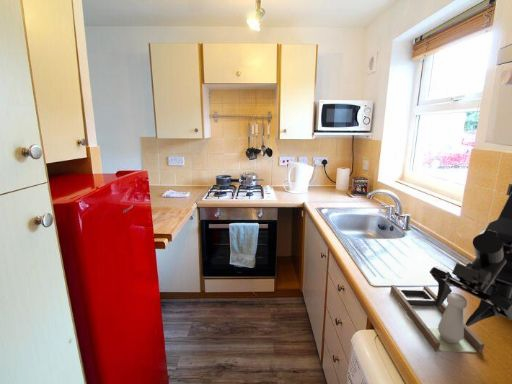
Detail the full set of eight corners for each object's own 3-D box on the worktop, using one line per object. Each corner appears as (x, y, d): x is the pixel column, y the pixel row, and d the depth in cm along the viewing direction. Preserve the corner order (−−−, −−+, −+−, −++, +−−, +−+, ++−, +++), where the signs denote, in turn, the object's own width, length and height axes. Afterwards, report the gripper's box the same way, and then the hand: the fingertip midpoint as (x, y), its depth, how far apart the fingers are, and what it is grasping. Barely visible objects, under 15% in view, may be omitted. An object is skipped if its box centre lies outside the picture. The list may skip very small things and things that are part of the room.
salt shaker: (451, 330, 78) (459, 289, 75) (467, 346, 73) (477, 302, 70) (431, 331, 78) (439, 290, 75) (446, 347, 72) (455, 303, 69)
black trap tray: (423, 294, 95) (424, 289, 95) (433, 306, 89) (434, 300, 89) (396, 294, 95) (397, 288, 95) (405, 305, 90) (406, 299, 89)
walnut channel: (425, 292, 96) (426, 285, 96) (482, 352, 71) (484, 344, 71) (390, 291, 97) (391, 285, 96) (434, 351, 72) (436, 342, 71)
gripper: (439, 239, 79) (406, 283, 77) (521, 271, 63) (482, 327, 61) (451, 259, 84) (421, 300, 82) (531, 293, 68) (495, 345, 66)
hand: (450, 315), depth 73 cm, fingers open, 7 cm apart
